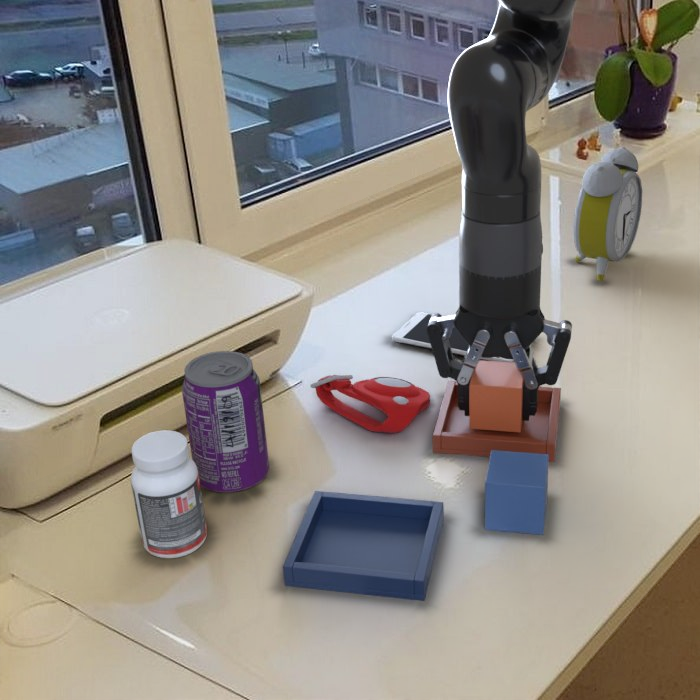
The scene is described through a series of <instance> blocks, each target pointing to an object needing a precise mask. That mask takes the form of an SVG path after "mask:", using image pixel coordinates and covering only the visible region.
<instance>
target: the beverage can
mask: <svg viewBox="0 0 700 700" xmlns="http://www.w3.org/2000/svg"><path fill="white" fill-rule="evenodd" d="M183 370H184V380H183V383H182V385H181V395H182V401H183V408H184V414H185V415H184V416H185V421H186V428H187V434H188V441H189V447H190V448H189V449H190V453H191V454H190V455H191V459H192V460H193V461H194V462H195V464H196V466H197V469H198V474H199V481H200V487H203V488H204V489H207V490H208V491H213V492H218V493H231V492H239V491H243V490H246V489H250V488H252V487H254V486H255V485H258V484H259V483H260V482H261V481H263V480H264V479H265V478H266V476H267V475H268V473H269V471H270V460H269V452H268V451H269V450H268V443H267V433H266V424H265V415H264V408H263V407H264V406H263V397H262V389H261V381H260V377H259V375H258V373H257V372H256V370H255V369H254V364H253V360H252V359H251V358H250V357H249V355H247V354H245V353H242V352H238V351H232V350H219V351H218V350H217V351H212V352H207V353H203V354H201V355H198V356H196V357H195V358H193V359H191V360H190V361H188V362H187V364H186V365H185V367H184V369H183Z"/></svg>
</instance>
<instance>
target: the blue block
mask: <svg viewBox="0 0 700 700" xmlns="http://www.w3.org/2000/svg"><path fill="white" fill-rule="evenodd" d="M549 463H550V461H549V455H548V454H536V453H523V452H510V451H497V450H492V451H491V456H490V457H489V462H488V466H487V471H486V476H485V481H484V529H485V530H487V531H498V532H508V533H517V534H518V533H519V534H528V535H529V534H530V535H539V536H540V535H541V536H543V535H544V533H545V525H546V524H545V523H546V514H547V507H548V506H547V505H548V485H549Z"/></svg>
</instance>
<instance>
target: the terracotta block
mask: <svg viewBox="0 0 700 700" xmlns="http://www.w3.org/2000/svg"><path fill="white" fill-rule="evenodd" d="M523 386H524V381H523V378H522V376H521V373H520V371H518V369H517V367H516V364H515V362H514V361H513V362H497V361H485V360H479V362H478V364H477V366H476V368H475V370H474V372H473V374H472V377H471V381H470V385H469V428H470V429H481V430H494V431H507V432H521V427H522V421H523V420H522V405H523Z"/></svg>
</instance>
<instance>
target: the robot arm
mask: <svg viewBox="0 0 700 700" xmlns="http://www.w3.org/2000/svg"><path fill="white" fill-rule="evenodd" d="M578 1H579V0H498V2H499V5H498V9H497V14H496V16H495V20H494V23H493V26H492V28H491V31H490V33H489V35H488V37H487V38H485V39H483V40H480V41H478V42H477V43H475V44H473V45H471V46H469V47H468V48H466V49H465V50H463V51H462V52H461V54H460V55H458V57H457V58H456V60H455V62H454V63H453V65H452V68H451V71H450V74H449V80H448V86H447V110H448V115H449V120H450V125H451V129H452V135H453V139H454V142H455V143H454V144H455V147H456V151H457V155H458V158H459V161H460V165H461V214H460V215H461V217H460V224H459V231H458V279H459V280H458V299H459V300H458V304H459V305H458V309H457V310H456V312H455V314H450V315H445V316H444V315H442V314H440V313H438V312H435V313H431V314H432V316H431V318H430V321H429V324H428V327H427V333H428V336H429V340H430V343H431V347H432V349H431V350H432V354H433V357H434V361H435V364H436V368H437V372H438V375H439V376H440V377H441V378H442V379H448V378H450V379H453V381H455V382H457V384H458V407H459V409H460V410H464V414H465V416H469V385H470V381H471V377H472V374H473V372H474V370H475V368H476V366H477V364H478V362H479V360H480V357H483V358H492V357H501V358H505V359H514V361H513V363H515V364H516V367H517V369H518V371H520V373H521V376H522V378H523V381H524V386H523V405H522V420H525V421H529V417H530V415H531V416H534V415H535V414H536V412H537V405H538V388H539V387H542V386H543V385H547V386H554V385H555V384H557V382H558V379H559V376H560V374H561V373H560V372H561V369H562V368H563V363H564V362H565V361H564V360H565V357H566V354H567V352H568V348H569V346H570V345H569V344H570V342H571V339H572V330H573V324H572V322H571V321H570V320H568V319H563V320H561V321H559V322H556V321H553V320H549V319H546V318H545V315H544V314H543V312H542V309H541V287H542V286H541V283H542V260H543V259H542V257H543V256H542V255H543V254H544V245H543V227H542V226H543V225H542V220H541V219H542V218H541V217H542V216H541V202H542V201H541V199H542V163H541V158H540V155H539V153H538V152H537V150H536V149H535V148H534V147H533V146H532V145H529V144H528V142H527V134H526V133H527V131H526V116H527V112H528V111H530V110H532V109H533V108H534V107H536V106H537V105H539V104H540V103H541V102H542V101H543V100H544V99H545V98H546V97H547V95H548V94H549V92H550V91H551V89H552V87H553V86H554V84H555V82H556V80H557V77H558V75H559V73H560V70H561V67H562V65H563V61H564V59H565V54H566V51H567V48H568V47H567V46H568V44H569V43H568V42H569V38H570V34H571V29H572V27H573V19H574V14H575V13H574V12H575V9H576V6H577V4H578ZM442 316H444V317H442ZM455 327H456V329H457V330H458V331H459V332H460V334H461V335H462V336H463V338H464V339H465V340H466V341H467V343H468V344H469V347H468V350H467V352H466V355H465V356H463V360H462V362H460V361H457V360H455V357H454V354H452V350H451V346H450V343H449V338H450V337H451V334H452V329H453V328H455ZM542 333H544V334H545V335H546V342H547V344H548V346H550V347H551V349H550V352H549V355H548V358H547V361H546V365H543V366H538V364H537V362H536V358H535V356H534V350H533V347H532V344H533V343H534V342H535V340H536V339H537V338H538V337H539V336H540V335H541V334H542ZM480 361H481V360H480Z"/></svg>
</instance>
